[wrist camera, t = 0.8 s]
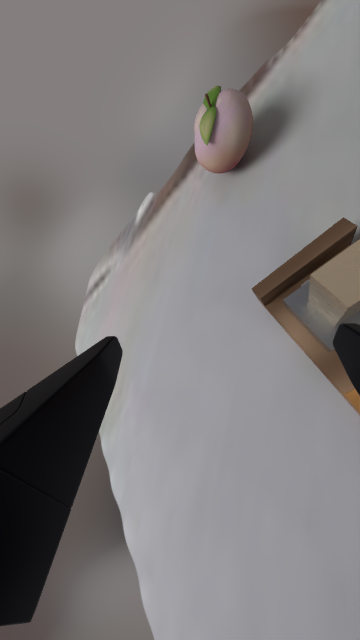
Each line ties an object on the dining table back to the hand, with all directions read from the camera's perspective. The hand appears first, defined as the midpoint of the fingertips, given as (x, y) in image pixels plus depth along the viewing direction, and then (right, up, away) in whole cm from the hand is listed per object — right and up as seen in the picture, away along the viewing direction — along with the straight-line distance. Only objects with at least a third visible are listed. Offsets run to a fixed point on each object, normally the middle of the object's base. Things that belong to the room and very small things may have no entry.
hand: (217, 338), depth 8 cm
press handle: (+14, +2, +10) cm, 17 cm away
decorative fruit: (+7, +27, +24) cm, 36 cm away
